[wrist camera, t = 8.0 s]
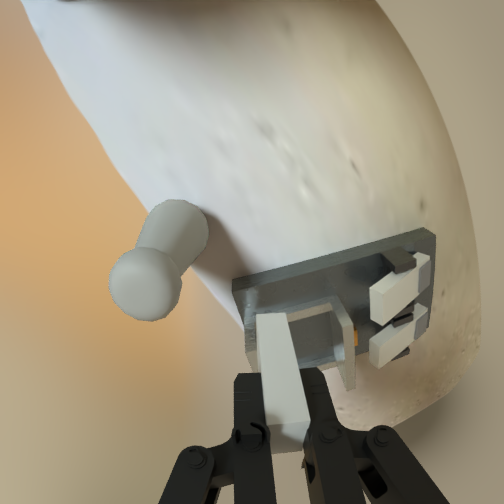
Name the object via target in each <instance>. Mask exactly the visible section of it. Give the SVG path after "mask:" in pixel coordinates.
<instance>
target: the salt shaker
mask: <svg viewBox="0 0 504 504" xmlns="http://www.w3.org/2000/svg"><path fill="white" fill-rule="evenodd" d="M208 237H209V229H208V225H207V220H206V217H205V216H204V215H203V213H202V212H201V211H200V209H199V208H198V207H197V206H195V205H193V204H191V203H189V202H187V201H185V200H174V199H169V200H167V201H165V202H163V203H161V204H159V205H157V206H155V207H154V208H153V210H152V211H151V212H150V213H149V215H148V216H147V218H146V220H145V222H144V225H143V227H142V230H141V232H140V235H139V238H138V240H137V243H136V246H135V248H134V249H132V250H130V251H128V252H126V253H124V254H123V255H122V256H121V257H120V258H119V259H118V261H117V262H116V263H115V265H114V266H113V268H112V270H111V272H110V274H109V290H110V293H111V295H112V298H113V301H114V302H115V304H116V305H117V306H118V307H119V308H120V309H121V310H122V311H123V312H124V313H126V314H128V315H130V316H131V317H133V318H135V319H137V320H143V321H156V320H159V319H162V318H165V317H166V316H167V315H168V314H169V313H170V312H171V311H172V310H173V308H174V307H175V306H176V304H177V303H178V300H179V296H180V291H181V287H182V280H181V276H182V275H183V273H184V272H185V271H186V270H187V268H188V267H189V266H190V265H191V264H192V263H193V261H194V260H195V259H196V258H197V257H198V255H199V254H200V253H201V252H202V251H203V250H204V249H205V248H206V244H207V241H208Z"/></svg>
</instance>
